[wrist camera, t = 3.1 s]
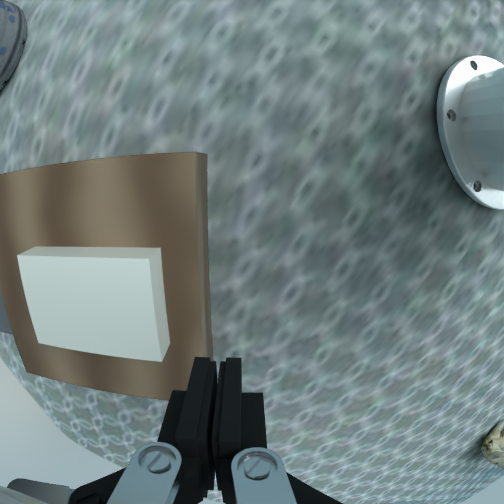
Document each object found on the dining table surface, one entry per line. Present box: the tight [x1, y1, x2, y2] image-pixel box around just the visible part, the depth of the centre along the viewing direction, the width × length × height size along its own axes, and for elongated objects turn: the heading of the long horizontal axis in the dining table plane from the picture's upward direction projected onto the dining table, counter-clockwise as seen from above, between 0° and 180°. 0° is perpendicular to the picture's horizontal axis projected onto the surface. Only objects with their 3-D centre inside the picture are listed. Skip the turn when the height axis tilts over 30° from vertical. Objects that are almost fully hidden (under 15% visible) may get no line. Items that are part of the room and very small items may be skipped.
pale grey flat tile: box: [17, 246, 170, 362], centre depth 16 cm, size 9×6×2 cm, turn 89°
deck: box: [0, 152, 213, 400], centre depth 19 cm, size 16×16×4 cm
